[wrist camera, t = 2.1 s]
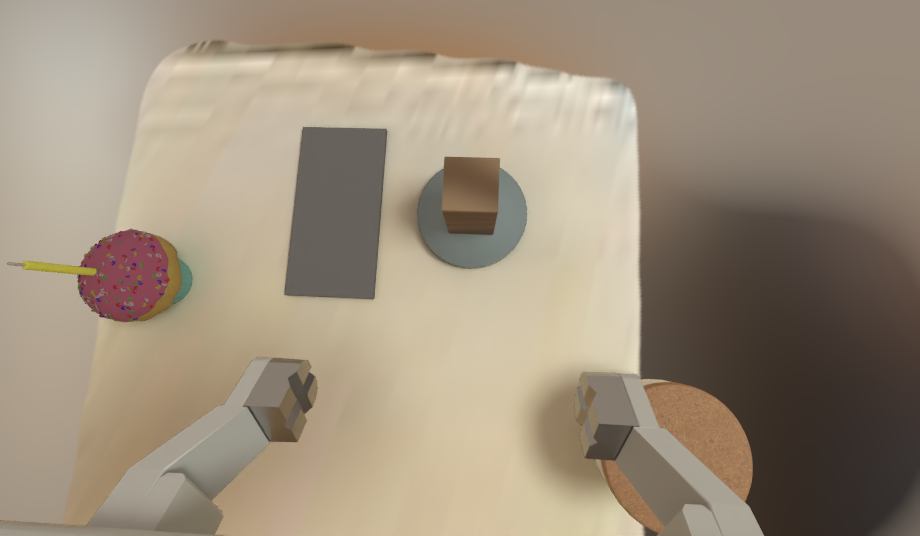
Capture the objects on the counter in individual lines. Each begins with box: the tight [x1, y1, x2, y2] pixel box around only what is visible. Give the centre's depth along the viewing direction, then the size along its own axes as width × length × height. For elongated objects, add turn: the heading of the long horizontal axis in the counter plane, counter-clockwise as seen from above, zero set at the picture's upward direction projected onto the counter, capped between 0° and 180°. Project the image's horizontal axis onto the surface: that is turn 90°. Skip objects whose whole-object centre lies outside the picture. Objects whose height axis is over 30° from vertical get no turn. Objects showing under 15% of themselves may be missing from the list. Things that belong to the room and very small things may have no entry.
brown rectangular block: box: [442, 157, 500, 235], centre depth 33 cm, size 4×4×8 cm
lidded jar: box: [595, 379, 753, 533], centre depth 30 cm, size 11×11×9 cm
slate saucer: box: [417, 168, 527, 268], centre depth 36 cm, size 11×11×3 cm
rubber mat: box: [285, 127, 387, 299], centre depth 38 cm, size 18×9×1 cm, turn 177°
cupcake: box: [7, 229, 192, 322], centre depth 32 cm, size 9×8×12 cm
